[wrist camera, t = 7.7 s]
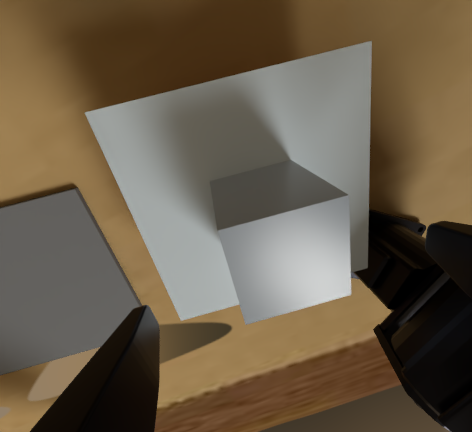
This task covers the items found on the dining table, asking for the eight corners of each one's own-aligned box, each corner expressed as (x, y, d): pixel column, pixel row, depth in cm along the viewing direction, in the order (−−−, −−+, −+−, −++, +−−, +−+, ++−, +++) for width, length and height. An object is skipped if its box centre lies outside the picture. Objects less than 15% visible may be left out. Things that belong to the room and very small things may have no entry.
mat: (77, 187, 16) (74, 189, 16) (154, 328, 23) (153, 331, 22) (-135, 242, 16) (-143, 246, 16) (2, 371, 22) (-1, 375, 22)
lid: (359, 45, 11) (512, -10, 6) (360, 260, 16) (438, 336, 11) (92, 111, 10) (-13, 120, 5) (181, 310, 16) (174, 414, 10)
